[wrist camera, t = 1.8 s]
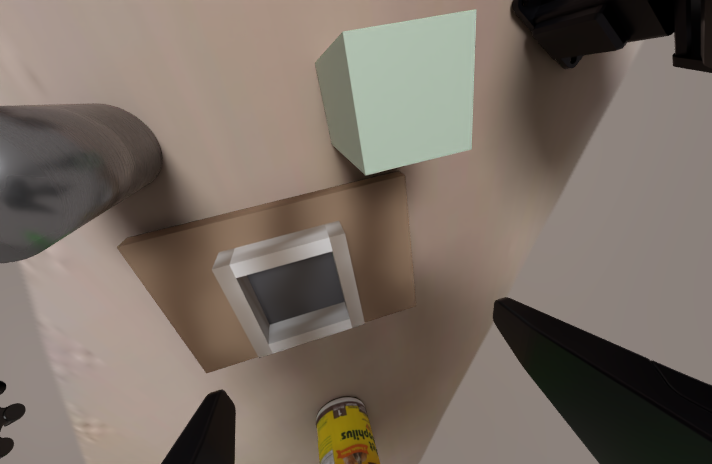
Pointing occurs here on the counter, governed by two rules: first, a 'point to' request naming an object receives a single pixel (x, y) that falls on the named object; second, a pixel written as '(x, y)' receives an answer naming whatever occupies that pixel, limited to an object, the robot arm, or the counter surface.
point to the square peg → (400, 91)
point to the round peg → (66, 170)
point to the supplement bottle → (345, 433)
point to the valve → (8, 421)
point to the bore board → (281, 270)
